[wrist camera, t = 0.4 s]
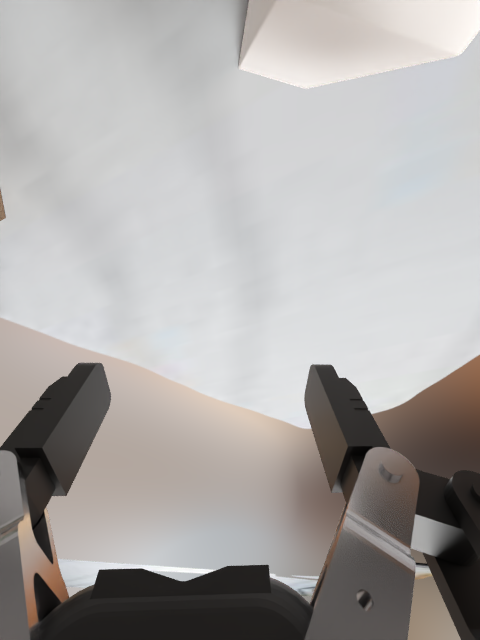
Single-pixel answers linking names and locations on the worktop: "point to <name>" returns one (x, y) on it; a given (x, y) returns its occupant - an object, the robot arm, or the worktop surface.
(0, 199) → the socket block
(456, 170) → the worktop surface
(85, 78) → the worktop surface
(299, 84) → the milk
